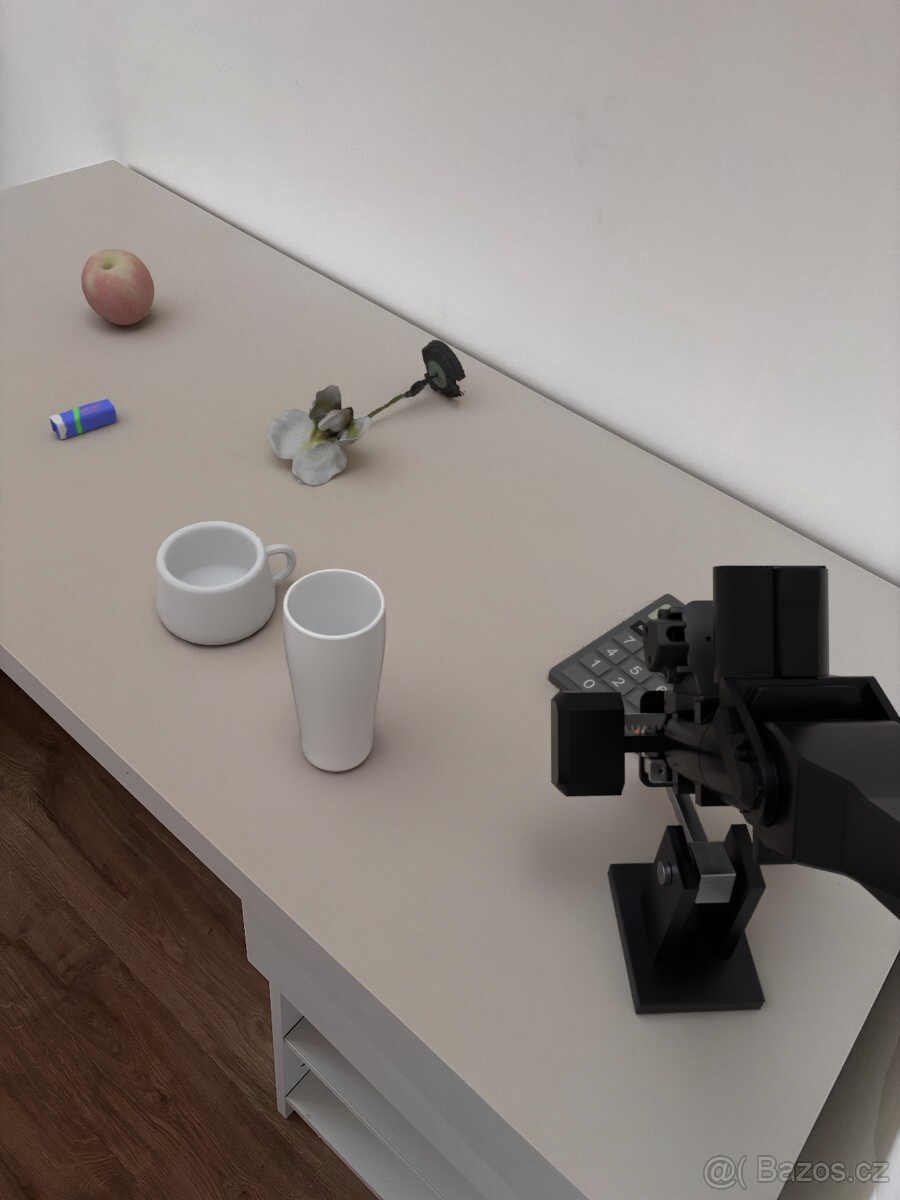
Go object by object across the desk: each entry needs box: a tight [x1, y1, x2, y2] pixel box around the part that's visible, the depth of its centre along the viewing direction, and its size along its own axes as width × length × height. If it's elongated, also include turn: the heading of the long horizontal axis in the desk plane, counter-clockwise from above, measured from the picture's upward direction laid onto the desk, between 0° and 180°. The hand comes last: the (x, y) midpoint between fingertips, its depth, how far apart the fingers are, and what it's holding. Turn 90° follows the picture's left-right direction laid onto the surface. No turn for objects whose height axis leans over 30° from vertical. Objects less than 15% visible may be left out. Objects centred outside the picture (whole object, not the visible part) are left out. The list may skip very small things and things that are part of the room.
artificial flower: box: [267, 339, 467, 487], centre depth 106 cm, size 9×22×10 cm, turn 131°
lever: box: [637, 753, 737, 904], centre depth 69 cm, size 15×3×3 cm, turn 4°
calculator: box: [547, 593, 686, 734], centre depth 86 cm, size 12×1×15 cm
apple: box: [80, 248, 155, 326], centre depth 118 cm, size 8×8×8 cm
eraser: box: [49, 398, 117, 440], centre depth 105 cm, size 2×6×2 cm, turn 126°
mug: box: [155, 520, 297, 646], centre depth 87 cm, size 12×10×6 cm
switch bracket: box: [607, 823, 767, 1015], centre depth 66 cm, size 10×8×10 cm
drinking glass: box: [282, 568, 387, 772], centre depth 74 cm, size 7×7×15 cm
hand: (664, 726), depth 73 cm, fingers closed, pressing on lever
